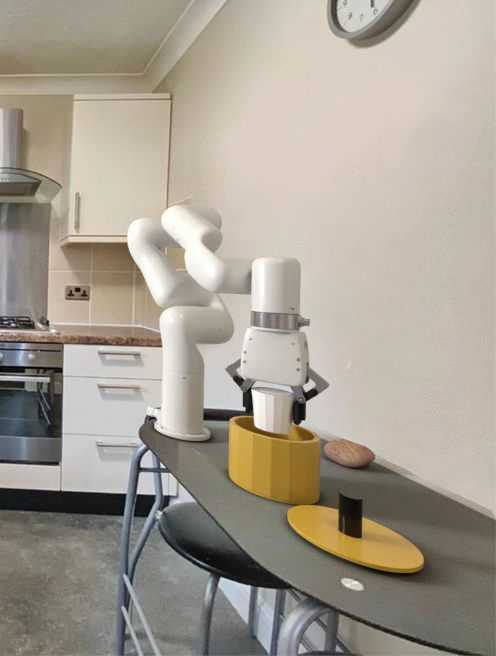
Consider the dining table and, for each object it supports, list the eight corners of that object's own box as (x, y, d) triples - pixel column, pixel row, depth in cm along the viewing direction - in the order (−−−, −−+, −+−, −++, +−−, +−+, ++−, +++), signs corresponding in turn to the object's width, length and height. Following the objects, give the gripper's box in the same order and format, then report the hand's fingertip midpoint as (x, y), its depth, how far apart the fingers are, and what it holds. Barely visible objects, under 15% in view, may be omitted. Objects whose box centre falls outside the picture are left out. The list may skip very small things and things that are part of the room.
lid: (276, 535, 59) (277, 489, 59) (298, 502, 69) (299, 463, 69) (423, 596, 48) (423, 539, 48) (424, 546, 58) (425, 499, 58)
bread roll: (334, 450, 92) (312, 445, 89) (353, 432, 90) (331, 425, 87) (367, 480, 85) (344, 475, 83) (389, 460, 83) (366, 454, 80)
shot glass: (304, 437, 71) (304, 397, 71) (260, 433, 72) (261, 394, 72) (283, 424, 78) (284, 388, 78) (244, 420, 79) (244, 384, 79)
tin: (218, 481, 75) (219, 425, 76) (241, 461, 84) (242, 411, 85) (310, 514, 65) (311, 449, 65) (325, 488, 74) (326, 431, 74)
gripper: (338, 326, 71) (337, 427, 71) (229, 317, 84) (227, 402, 84) (331, 328, 66) (329, 436, 66) (216, 318, 79) (214, 409, 79)
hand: (272, 416), depth 75 cm, fingers closed on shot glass, 6 cm apart
